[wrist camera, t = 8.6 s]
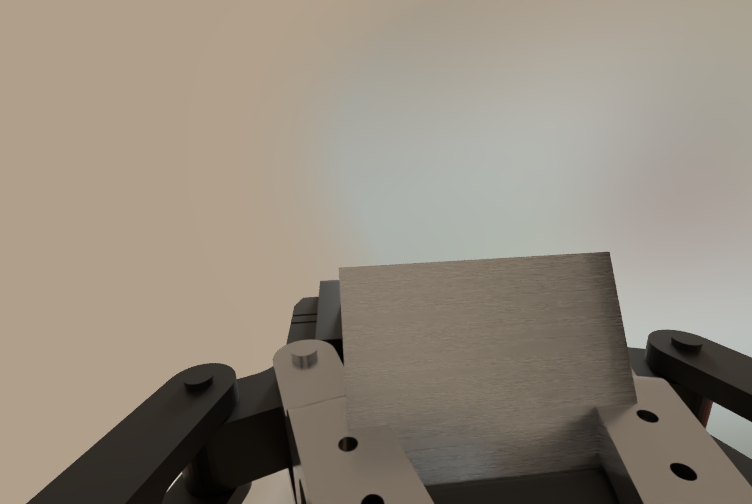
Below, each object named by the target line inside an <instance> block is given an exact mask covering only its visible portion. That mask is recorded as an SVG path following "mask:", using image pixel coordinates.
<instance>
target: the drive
mask: <svg viewBox="0 0 752 504" xmlns="http://www.w3.org/2000/svg"><path fill="white" fill-rule="evenodd" d="M339 278H340V279H339V280H340V298H341V317H342V335H343V354H344V372H345V390H346V409H347V427H348V429H352V428H363V427H374V426H385V425H390V427H391V429H392V430H393V432H394V434H395V436H396V437H397V439H398V441H399V443H400V445H401V446H402V448H403V450H404V452H405V453H406V455H407V457H408V459H409V460H410V462H411V464H412V466H413V467H414V469H415V471H416V473H417V474H418V476H419V478H420V480H421V481H422V483H423V485H424V487H435V486H444V485H454V484H464V483H473V482H483V481H493V480H503V479H512V478H522V477H532V476H541V475H551V474H561V473H570V472H580V471H590V470H601V469H605V468H604V465H603V463H602V461H601V458H600V456H599V454H598V444H597V423H596V406H606V405H617V404H628V403H638V401H637V396H636V391H635V386H634V380H633V375H632V370H631V364H630V359H629V354H628V348H627V343H626V338H625V333H624V327H623V322H622V316H621V312H620V306H619V300H618V296H617V290H616V284H615V279H614V274H613V268H612V263H611V258H610V252H599V253H581V254H566V255H549V256H531V257H517V258H516V257H514V258H497V259H481V260H466V261H465V260H464V261H447V262H431V263H413V264H399V265H398V264H397V265H381V266H365V267H346V268H339Z"/></svg>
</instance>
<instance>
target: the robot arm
mask: <svg viewBox="0 0 752 504" xmlns="http://www.w3.org/2000/svg"><path fill="white" fill-rule="evenodd" d="M627 348H628V354H629V359H630V364H631V370H632V375H633V380H634V386H635V391H636V396H637V401H638V403H628V404H617V405H606V406H596V423H597V444H598V454H599V456H600V458H601V461H602V463H603V465H604V468H605V469H601V470H590V471H580V472H570V473H561V474H551V475H541V476H532V477H522V478H512V479H503V480H493V481H483V482H473V483H464V484H454V485H444V486H435V487H424V485H423V483H422V481H421V480H420V478H419V476H418V474H417V473H416V471H415V469H414V467H413V466H412V464H411V462H410V460H409V459H408V457H407V455H406V453H405V452H404V450H403V448H402V446H401V445H400V443H399V441H398V439H397V437H396V436H395V434H394V432H393V430H392V429H391V427H390V425H385V426H374V427H363V428H352V429H348V427H347V409H346V390H345V372H344V354H343V335H342V317H341V298H340V280H329V281H320V290H319V297H309V298H303V299H302V300H300V302H298V303H297V304H296V305H295V306H294V311H293V317H292V320H291V325H290V330H289V335H288V339H287V344H286V345H285V346H284V347H282V348H281V349H279V350H278V351H277V352H276V353H275V355H274V357H273V367H271V368H269V369H268V370H265V371H263V372H261V373H258V374H255V375H251V376H247V377H244V378H240V379H236V374H235V371H234V370H233V369H232V368H231V367H230V366H227V365H224V364H219V363H209V364H202V365H197V366H194V367H191V368H188V369H186V370H184V371H182V372H180V373H178V374H176V375H175V376H174V377H172V378H171V379H170V380H169V381H167V382H166V383H165V384H164V385H163V386H162V387H161V388H159V389H158V390H157V391H156V392H155V393H154V394H152V395H151V396H150V397H149V398H148V399H147V400H145V401H144V402H143V403H142V404H141V405H140V406H139V407H137V408H136V409H135V410H134V411H133V412H132V413H131V414H129V415H128V416H127V417H126V418H125V419H124V420H122V421H121V422H120V423H119V424H118V425H117V426H116V427H114V428H113V429H112V430H111V431H110V432H108V433H107V434H106V435H105V436H104V437H103V438H102V439H100V440H99V441H98V442H97V443H96V444H95V445H94V446H92V447H91V448H90V449H89V450H88V451H87V452H85V453H84V454H83V455H82V456H81V457H80V458H79V459H77V460H76V461H75V462H74V463H73V464H72V465H70V466H69V467H68V468H67V469H66V470H65V471H63V472H62V473H61V474H60V475H59V476H58V477H57V478H56V479H54V480H53V481H52V482H51V483H50V484H48V485H47V486H46V487H45V488H44V489H43V490H42V491H40V492H39V493H38V494H37V495H36V496H35V497H33V498H32V499H31V500H30V501H29V502H28V503H26V504H242V503H243V501H244V500H245V498H246V496H247V495H248V493H249V491H250V489H251V486H252V481H255V480H258V479H260V478H263V477H266V476H268V475H271V474H274V473H276V472H279V471H282V470H284V469H287V472H288V477H289V482H290V487H291V492H292V497H293V502H294V504H752V459H750V458H748V457H747V456H745V455H743V454H742V453H740V452H738V451H737V450H735V449H733V448H732V447H730V446H728V445H727V444H725V443H723V442H722V441H720V440H718V439H717V438H715V437H713V436H712V435H710V434H709V433H708V432H707V431H706V426H707V422H708V418H709V415H710V411H711V407H712V404H713V402H715V403H717V404H719V405H721V406H722V407H724V408H726V409H728V410H730V411H732V412H734V413H736V414H738V415H739V416H741V417H744V418H745V419H747V420H749V421H751V422H752V358H751V357H749V356H746V355H744V354H741V353H739V352H737V351H734V350H732V349H729V348H727V347H725V346H722V345H720V344H718V343H715V342H713V341H710V340H708V339H706V338H703V337H700V336H698V335H695V334H691V333H687V332H682V331H676V330H657V331H654V332H652V333H650V334H649V336H648V340H647V345H646V349H639V348H629V347H627ZM181 472H182V474H181V475H180V473H181ZM179 475H180V476H179ZM178 476H179V478H178V479H177V480H176V481H175V479H176V478H177V477H178ZM174 481H175V483H174V484H173V485H172V486H171V484H172V483H173V482H174ZM170 486H171V487H170ZM169 487H170V489H169ZM168 489H169V490H168ZM167 490H168V491H167Z"/></svg>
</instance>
